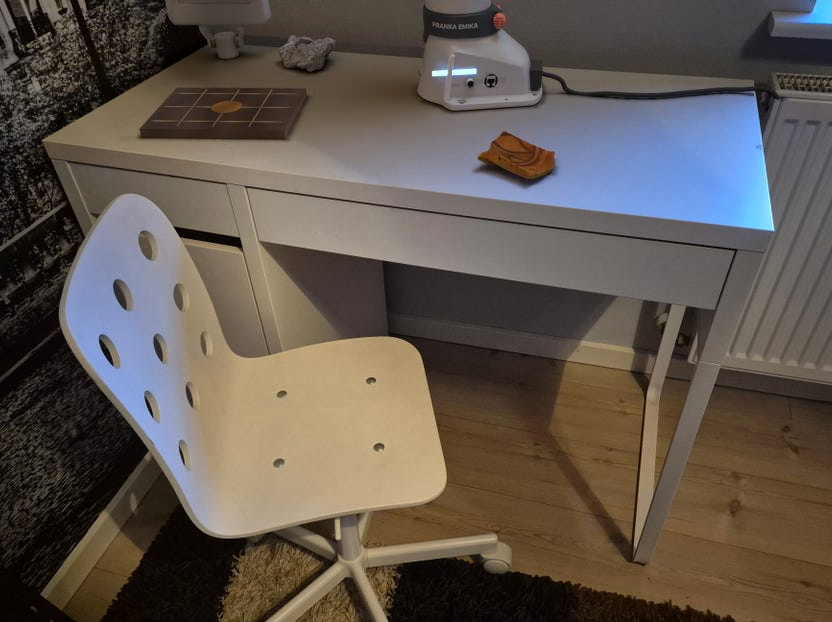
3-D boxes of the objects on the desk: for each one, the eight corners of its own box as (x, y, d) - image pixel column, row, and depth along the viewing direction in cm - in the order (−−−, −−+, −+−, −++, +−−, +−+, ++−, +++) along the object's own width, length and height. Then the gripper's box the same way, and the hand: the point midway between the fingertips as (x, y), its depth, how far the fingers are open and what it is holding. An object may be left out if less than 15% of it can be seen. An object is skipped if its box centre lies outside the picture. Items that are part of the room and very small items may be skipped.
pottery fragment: (499, 128, 101) (562, 129, 97) (502, 156, 104) (564, 159, 100) (470, 156, 95) (537, 159, 90) (475, 186, 98) (539, 190, 93)
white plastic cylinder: (241, 52, 140) (237, 31, 137) (235, 58, 137) (231, 38, 134) (221, 51, 140) (217, 31, 138) (215, 58, 137) (211, 38, 134)
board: (307, 96, 121) (305, 87, 120) (285, 139, 108) (283, 129, 107) (178, 95, 123) (176, 86, 122) (141, 137, 109) (138, 128, 108)
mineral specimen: (317, 79, 128) (266, 66, 132) (347, 64, 136) (298, 51, 139) (316, 47, 124) (264, 34, 128) (347, 33, 132) (297, 21, 135)
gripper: (268, -34, 130) (279, 42, 139) (166, -33, 131) (184, 42, 140) (260, -25, 125) (272, 52, 134) (154, -25, 127) (174, 52, 136)
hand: (226, 47), depth 137 cm, fingers closed on white plastic cylinder, 4 cm apart
